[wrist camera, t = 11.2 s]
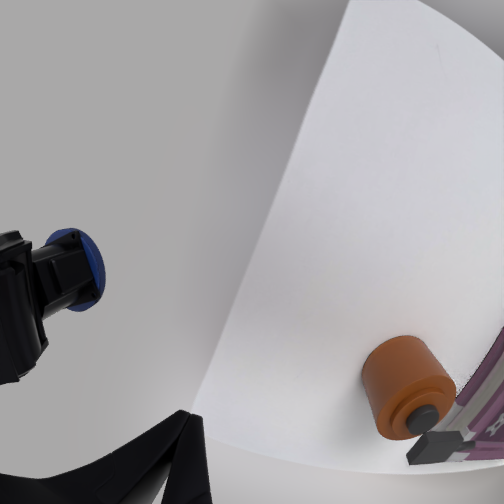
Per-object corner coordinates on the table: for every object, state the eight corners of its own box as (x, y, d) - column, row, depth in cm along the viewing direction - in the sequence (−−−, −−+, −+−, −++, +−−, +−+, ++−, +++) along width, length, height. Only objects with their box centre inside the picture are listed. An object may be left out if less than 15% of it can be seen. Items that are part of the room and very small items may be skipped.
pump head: (402, 446, 13) (409, 465, 11) (420, 422, 12) (429, 442, 11) (459, 442, 12) (467, 458, 11) (476, 421, 12) (485, 436, 10)
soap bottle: (350, 391, 22) (364, 452, 15) (380, 329, 20) (411, 383, 13) (408, 398, 21) (432, 451, 14) (439, 341, 20) (479, 388, 13)
